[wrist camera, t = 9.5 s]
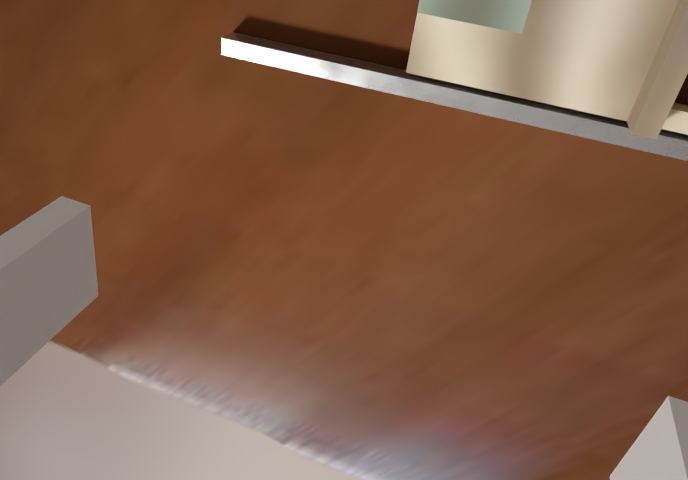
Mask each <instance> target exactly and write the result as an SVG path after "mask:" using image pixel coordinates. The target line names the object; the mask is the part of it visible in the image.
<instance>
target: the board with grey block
mask: <svg viewBox="0 0 688 480" xmlns="http://www.w3.org/2000/svg"><path fill="white" fill-rule="evenodd" d="M406 73H410V74H414V75H419V76H423V77H428V78H433V79H437V80H442V81H446V82H451V83H455V84H460V85H464V86H469V87H473V88H478V89H482V90H487V91H491V92H496V93H501V94H505V95H510V96H514V97H519V98H523V99H528V100H532V101H537V102H541V103H546V104H550V105H555V106H559V107H564V108H569V109H573V110H578V111H582V112H587V113H591V114H596V115H600V116H605V117H609V118H614V119H618V120H623V121H627V123H628V126H629V129H630V132H631V134H632V135H637V136H641V137H646V138H650V139H655V140H657V137H658V135H659V133H660V131H661V129H664V130H668V131H673V132H677V133H682V134H686V135H688V105H683V104H678V103H674V101H675V99H676V97H677V95H678V93H679V91H680V89H681V87H682V85H683V82H684V80H685V78H686V76H687V74H688V0H419V6H418V11H417V17H416V22H415V28H414V33H413V38H412V43H411V48H410V54H409V59H408V64H407V69H406Z"/></svg>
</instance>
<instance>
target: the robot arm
mask: <svg viewBox="0 0 688 480" xmlns="http://www.w3.org/2000/svg"><path fill="white" fill-rule="evenodd" d="M97 296H98V286H97V275H96V264H95V253H94V242H93V231H92V220H91V209H90V206H89V205H86V204H83V203H80V202H77V201H74V200H71V199H68V198H65V197H62V196H61V197H60V198H58V199H57V200H55V201H54V202H52V203H50V204H49V205H47V206H46V207H44V208H43V209H41V210H40V211H38V212H37V213H35V214H34V215H32V216H30V217H29V218H27V219H26V220H24V221H23V222H21V223H20V224H18V225H17V226H15V227H14V228H12V229H11V230H9V231H7V232H6V233H4V234H3V235H1V236H0V386H1V385H2V384H3V383H4V382H5V381H6V380H7V379H8V378H9V377H11V376H12V375H13V374H14V373H15V372H16V371H17V370H18V369H19V368H20V367H21V366H22V365H24V364H25V363H26V362H27V361H28V360H29V359H30V358H31V357H32V356H33V355H34V354H35V353H37V352H38V351H39V350H40V349H41V348H42V347H43V346H44V345H45V344H46V343H47V342H48V341H50V340H51V339H52V338H53V337H54V336H55V335H56V334H57V333H58V332H59V331H60V330H61V329H63V328H64V327H65V326H66V325H67V324H68V323H69V322H70V321H71V320H72V319H73V318H74V317H75V316H77V315H78V314H79V313H80V312H81V311H82V310H83V309H84V308H85V307H86V306H87V305H88V304H90V303H91V302H92V301H93V300H94V299H95V298H96V297H97ZM610 480H688V402H685V401H682V400H679V399H676V398H673V397H670V396H668V397H667V398H666V400H665V401H664V402H663V404H662V405H661V407H660V408H659V409H658V411H657V412H656V413H655V415H654V416H653V418H652V419H651V420H650V422H649V423H648V424H647V426H646V427H645V429H644V430H643V431H642V433H641V434H640V435H639V437H638V438H637V439H636V441H635V442H634V444H633V445H632V446H631V448H630V449H629V450H628V452H627V453H626V455H625V456H624V457H623V459H622V460H621V461H620V463H619V464H618V466H617V467H616V468H615V470H614V471H613V472H612V474H611V475H610Z"/></svg>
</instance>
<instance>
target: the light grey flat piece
mask: <svg viewBox="0 0 688 480" xmlns="http://www.w3.org/2000/svg"><path fill="white" fill-rule="evenodd" d="M221 55H224V56H228V57H233V58H237V59H242V60H246V61H250V62H255V63H259V64H264V65H268V66H272V67H277V68H281V69H286V70H290V71H294V72H299V73H303V74H308V75H312V76H316V77H321V78H325V79H330V80H334V81H338V82H343V83H347V84H352V85H356V86H360V87H365V88H369V89H374V90H378V91H382V92H387V93H391V94H396V95H400V96H404V97H409V98H413V99H418V100H422V101H426V102H431V103H435V104H440V105H444V106H448V107H453V108H457V109H462V110H466V111H470V112H475V113H479V114H484V115H488V116H492V117H497V118H501V119H505V120H510V121H514V122H519V123H523V124H527V125H532V126H536V127H541V128H545V129H549V130H554V131H558V132H563V133H567V134H571V135H576V136H580V137H585V138H589V139H593V140H598V141H602V142H607V143H611V144H615V145H620V146H624V147H629V148H633V149H637V150H642V151H646V152H651V153H655V154H659V155H664V156H668V157H673V158H677V159H681V160H686V161H688V135H686V134H682V133H677V132H673V131H668V130H664V129H661V131H660V133H659V135H658V137H657V140H655V139H650V138H646V137H641V136H637V135H632V134H631V132H630V129H629V126H628V123H627V121H623V120H618V119H614V118H609V117H605V116H600V115H596V114H591V113H587V112H582V111H578V110H573V109H569V108H564V107H559V106H555V105H550V104H546V103H541V102H537V101H532V100H528V99H523V98H519V97H514V96H510V95H505V94H501V93H496V92H491V91H487V90H482V89H478V88H473V87H469V86H464V85H460V84H455V83H451V82H446V81H442V80H437V79H433V78H428V77H423V76H419V75H414V74H410V73H406V70H404V69H399V68H395V67H390V66H385V65H381V64H376V63H372V62H367V61H363V60H358V59H354V58H349V57H345V56H340V55H335V54H331V53H326V52H322V51H317V50H313V49H308V48H304V47H299V46H294V45H290V44H285V43H281V42H276V41H272V40H267V39H263V38H258V37H254V36H249V35H244V34H240V33H235V32H232V33H230V34H228V35H226V36H224V37H222V49H221Z"/></svg>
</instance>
